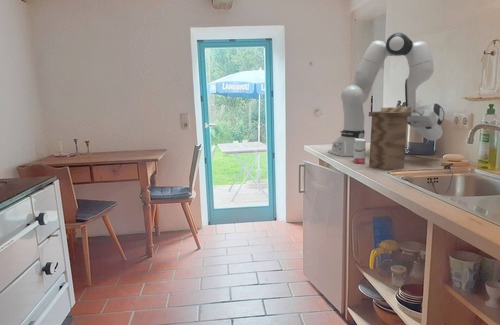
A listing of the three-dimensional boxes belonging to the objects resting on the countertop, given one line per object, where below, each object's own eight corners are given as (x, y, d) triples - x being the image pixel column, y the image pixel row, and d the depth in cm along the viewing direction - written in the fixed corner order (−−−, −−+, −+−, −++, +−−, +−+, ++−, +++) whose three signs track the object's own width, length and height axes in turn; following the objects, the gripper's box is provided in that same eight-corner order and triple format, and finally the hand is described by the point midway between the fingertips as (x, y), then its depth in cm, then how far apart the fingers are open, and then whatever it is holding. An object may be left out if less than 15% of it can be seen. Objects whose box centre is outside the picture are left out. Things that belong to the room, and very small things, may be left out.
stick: (384, 112, 158) (384, 107, 158) (380, 112, 160) (380, 107, 159) (412, 111, 168) (412, 106, 167) (408, 110, 170) (409, 106, 169)
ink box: (364, 163, 175) (366, 140, 173) (354, 163, 176) (355, 140, 174) (363, 160, 183) (364, 138, 181) (353, 160, 184) (354, 138, 182)
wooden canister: (365, 166, 168) (368, 111, 163) (385, 163, 175) (389, 111, 170) (386, 171, 158) (390, 112, 153) (406, 167, 165) (411, 111, 160)
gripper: (404, 114, 183) (390, 101, 176) (442, 116, 165) (428, 102, 158) (399, 125, 182) (385, 112, 175) (437, 128, 165) (422, 114, 158)
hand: (405, 107), depth 167 cm, fingers open, 8 cm apart
